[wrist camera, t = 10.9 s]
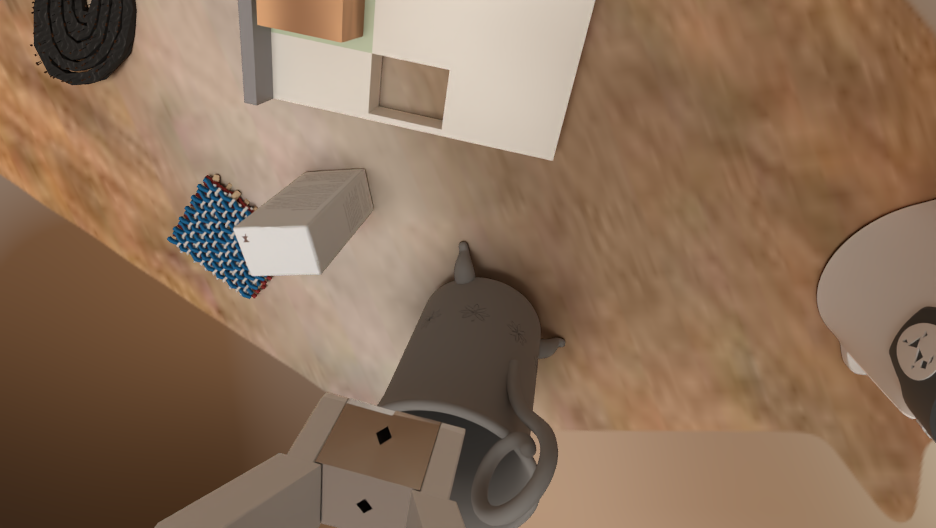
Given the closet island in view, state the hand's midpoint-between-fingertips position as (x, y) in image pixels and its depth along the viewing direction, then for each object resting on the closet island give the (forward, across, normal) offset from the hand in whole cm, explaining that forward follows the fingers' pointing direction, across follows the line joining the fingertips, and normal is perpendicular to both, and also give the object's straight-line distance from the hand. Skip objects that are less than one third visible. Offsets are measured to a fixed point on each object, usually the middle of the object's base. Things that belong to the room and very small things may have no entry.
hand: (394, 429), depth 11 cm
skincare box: (+34, +15, +12) cm, 39 cm away
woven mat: (+35, +26, +20) cm, 48 cm away
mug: (+34, -1, +21) cm, 40 cm away
